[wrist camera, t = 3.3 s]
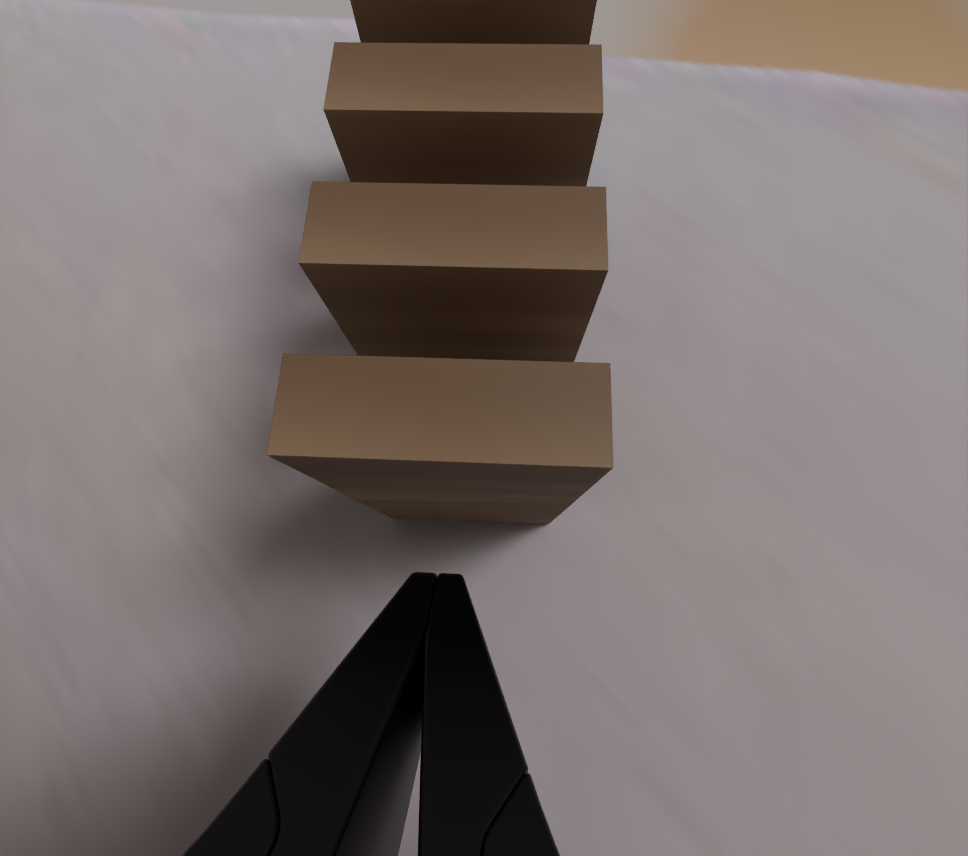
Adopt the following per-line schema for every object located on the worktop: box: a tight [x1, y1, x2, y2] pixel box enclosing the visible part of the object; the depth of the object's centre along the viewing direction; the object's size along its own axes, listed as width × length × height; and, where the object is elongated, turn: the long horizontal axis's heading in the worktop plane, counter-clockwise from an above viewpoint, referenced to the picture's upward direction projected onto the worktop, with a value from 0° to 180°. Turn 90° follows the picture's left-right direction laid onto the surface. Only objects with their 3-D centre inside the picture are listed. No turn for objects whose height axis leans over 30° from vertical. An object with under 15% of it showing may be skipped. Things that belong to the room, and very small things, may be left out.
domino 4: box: [350, 0, 597, 45], centre depth 14 cm, size 2×5×9 cm, turn 88°
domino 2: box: [299, 181, 608, 362], centre depth 13 cm, size 2×5×9 cm, turn 87°
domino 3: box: [324, 42, 603, 187], centre depth 13 cm, size 2×5×9 cm, turn 88°
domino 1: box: [267, 354, 613, 524], centre depth 12 cm, size 2×5×9 cm, turn 87°
